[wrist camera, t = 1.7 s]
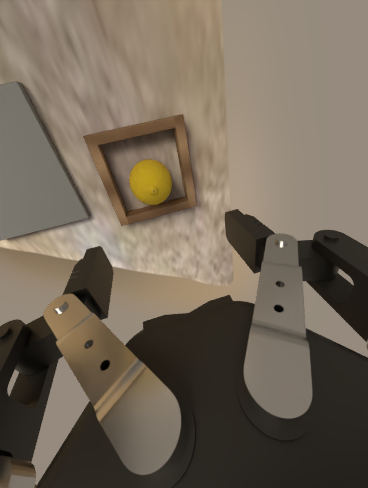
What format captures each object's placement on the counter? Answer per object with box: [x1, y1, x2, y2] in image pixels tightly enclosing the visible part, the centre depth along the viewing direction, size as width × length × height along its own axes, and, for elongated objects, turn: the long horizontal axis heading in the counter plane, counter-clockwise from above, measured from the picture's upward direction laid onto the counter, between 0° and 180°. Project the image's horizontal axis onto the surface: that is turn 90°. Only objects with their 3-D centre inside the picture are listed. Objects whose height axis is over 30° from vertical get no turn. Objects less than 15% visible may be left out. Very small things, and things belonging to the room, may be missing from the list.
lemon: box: [129, 159, 172, 205], centre depth 25 cm, size 6×6×8 cm
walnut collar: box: [83, 114, 197, 226], centre depth 27 cm, size 12×12×2 cm
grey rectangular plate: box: [0, 81, 90, 241], centre depth 24 cm, size 16×13×1 cm
